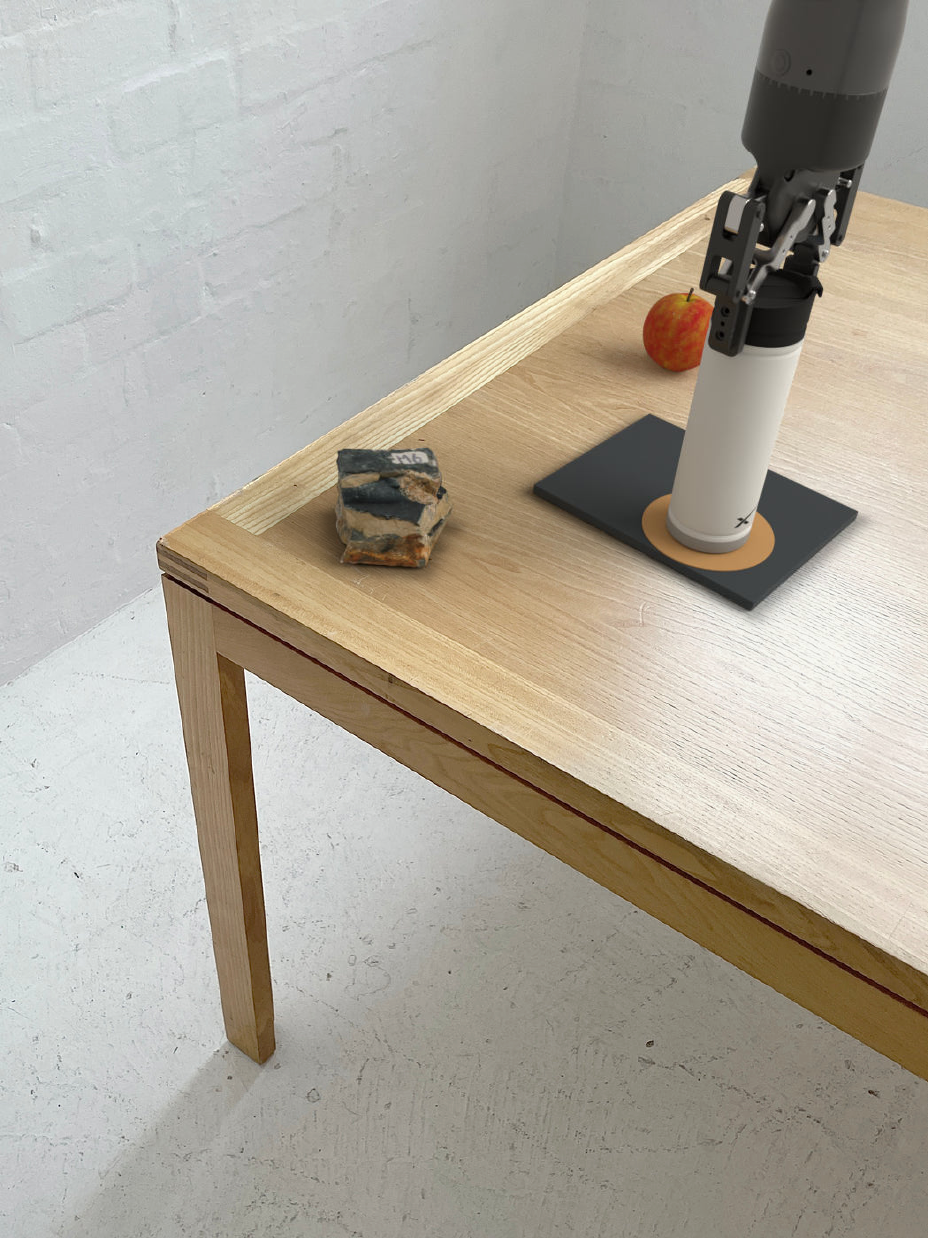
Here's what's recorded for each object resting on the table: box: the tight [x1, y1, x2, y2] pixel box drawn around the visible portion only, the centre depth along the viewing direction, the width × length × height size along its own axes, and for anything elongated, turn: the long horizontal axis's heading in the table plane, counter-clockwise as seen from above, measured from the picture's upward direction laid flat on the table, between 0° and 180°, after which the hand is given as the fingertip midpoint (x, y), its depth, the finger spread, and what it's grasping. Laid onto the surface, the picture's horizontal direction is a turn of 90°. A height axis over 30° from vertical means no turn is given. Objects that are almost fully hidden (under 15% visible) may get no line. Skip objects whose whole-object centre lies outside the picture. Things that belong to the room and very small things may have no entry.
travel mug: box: [666, 267, 824, 553], centre depth 79 cm, size 6×7×20 cm
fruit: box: [642, 287, 714, 373], centre depth 104 cm, size 7×7×8 cm
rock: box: [334, 446, 454, 568], centre depth 82 cm, size 9×9×6 cm
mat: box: [532, 413, 859, 612], centre depth 89 cm, size 20×16×1 cm
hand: (757, 331), depth 75 cm, fingers open, 8 cm apart
